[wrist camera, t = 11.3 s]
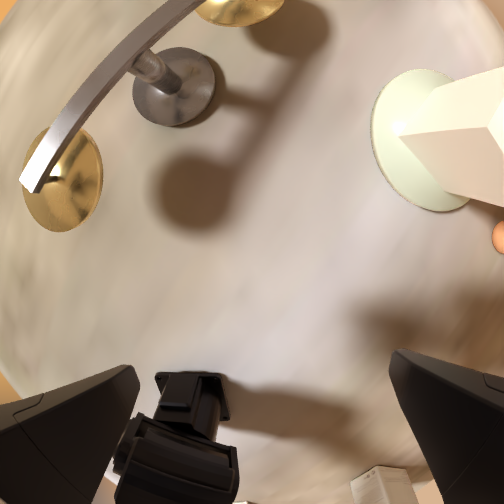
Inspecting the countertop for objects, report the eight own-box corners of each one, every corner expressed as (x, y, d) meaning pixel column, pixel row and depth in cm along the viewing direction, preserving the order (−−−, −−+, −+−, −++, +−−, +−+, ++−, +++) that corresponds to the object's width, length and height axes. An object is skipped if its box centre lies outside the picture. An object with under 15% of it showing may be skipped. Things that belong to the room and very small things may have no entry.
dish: (481, 207, 19) (489, 209, 18) (375, 211, 20) (380, 214, 19) (472, 83, 16) (479, 81, 15) (360, 65, 17) (365, 61, 16)
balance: (124, 224, 21) (43, 268, 12) (74, 180, 20) (-15, 200, 11) (299, 11, 16) (318, -70, 6) (236, -23, 15) (221, -103, 5)
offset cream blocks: (443, 191, 18) (574, 232, 6) (397, 136, 17) (534, 125, 5) (477, 142, 17) (599, 152, 5) (434, 88, 16) (558, 54, 4)
